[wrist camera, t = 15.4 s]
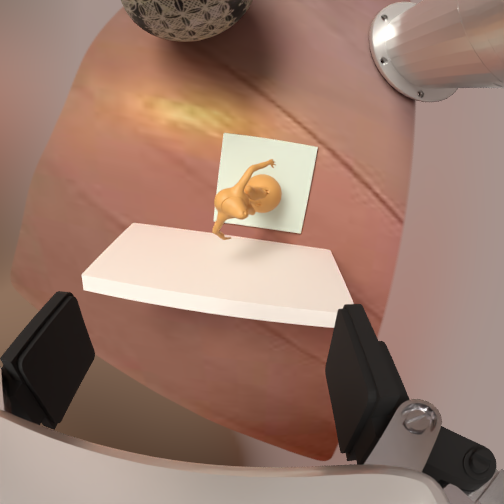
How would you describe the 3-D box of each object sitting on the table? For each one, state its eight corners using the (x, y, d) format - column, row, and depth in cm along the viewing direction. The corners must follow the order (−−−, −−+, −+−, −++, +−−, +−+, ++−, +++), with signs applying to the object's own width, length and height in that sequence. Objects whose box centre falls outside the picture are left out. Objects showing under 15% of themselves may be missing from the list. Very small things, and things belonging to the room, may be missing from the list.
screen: (330, 249, 36) (358, 314, 25) (326, 261, 37) (352, 329, 25) (133, 222, 36) (81, 274, 24) (133, 234, 36) (83, 290, 25)
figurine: (258, 228, 35) (256, 283, 24) (211, 202, 34) (187, 246, 23) (298, 166, 32) (317, 194, 21) (249, 137, 31) (242, 149, 20)
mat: (317, 146, 31) (317, 147, 31) (300, 232, 36) (300, 233, 35) (224, 132, 31) (223, 133, 31) (214, 220, 35) (213, 221, 35)
